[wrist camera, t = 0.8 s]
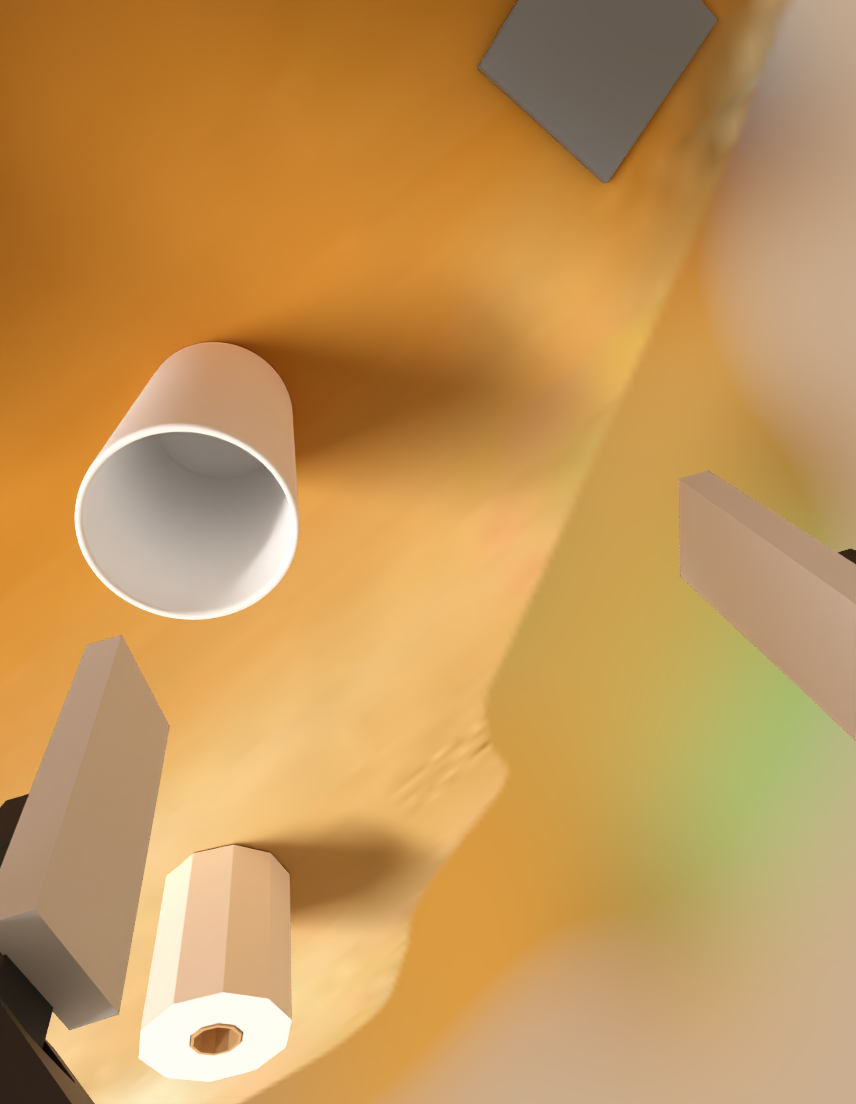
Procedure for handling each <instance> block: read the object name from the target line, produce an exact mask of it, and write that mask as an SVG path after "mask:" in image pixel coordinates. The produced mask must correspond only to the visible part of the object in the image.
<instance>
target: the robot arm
mask: <svg viewBox="0 0 856 1104" xmlns="http://www.w3.org/2000/svg"><path fill="white" fill-rule="evenodd" d="M679 523H680V524H679V527H680V576H681V577H682V578H683V579H684V580H685V581H686V582H687V583H688V584H689V585H690V586H691V587H692V588H693V589H694V590H695V591H697V592H698V593H699V594H700V595H701V596H702V597H703V598H704V599H705V600H706V601H707V602H708V603H709V604H710V605H712V606H713V607H714V608H715V609H716V610H717V611H718V612H719V613H720V614H721V615H722V616H723V617H724V618H725V619H726V620H727V621H729V622H730V623H731V624H732V625H733V626H734V627H735V628H736V629H737V630H738V631H739V632H740V633H741V634H742V635H743V636H744V637H746V638H747V639H748V640H749V641H750V642H751V643H752V644H753V645H754V646H755V647H756V648H757V649H758V650H760V652H762V653H763V654H764V655H765V656H766V657H767V658H768V659H769V660H770V661H771V662H772V663H774V665H775V666H776V667H778V668H779V669H780V670H781V671H782V672H783V673H784V674H785V675H786V676H787V677H788V678H789V679H790V680H791V681H792V682H794V683H795V684H796V685H797V686H798V687H799V688H800V689H801V690H802V691H803V692H804V693H805V694H806V695H807V696H808V697H810V698H811V699H812V700H813V701H814V702H815V703H816V704H817V705H818V706H819V707H820V708H821V709H822V710H823V711H825V712H826V713H827V714H828V715H829V716H830V717H831V718H832V719H833V720H834V721H835V722H836V723H837V724H838V725H839V726H840V727H842V728H843V729H844V730H845V731H846V732H847V733H848V734H849V735H850V736H851V737H852V738H853V739H854V740H855V741H856V550H853V549H848V550H845V551H841V552H838V553H837V552H835V551H834V550H832V549H831V548H829V547H828V546H826V545H825V544H823V543H821V542H820V541H818V540H817V539H815V538H813V537H812V536H810V535H809V534H807V533H806V532H804V531H803V530H801V529H800V528H798V527H796V526H795V525H793V524H792V523H790V522H789V521H787V520H785V519H784V518H782V517H781V516H779V515H778V514H776V513H774V512H773V511H771V510H770V509H768V508H767V507H765V506H764V505H762V504H760V503H759V502H757V501H756V500H754V499H753V498H751V497H750V496H748V495H746V494H744V493H743V492H741V491H740V490H738V489H737V488H735V487H734V486H732V485H731V484H729V483H727V482H726V481H725V480H723V479H721V478H720V477H718V476H717V475H715V474H713V473H712V472H710V471H705V472H702V473H698V474H694V475H691V476H687V477H684V478H680V479H679ZM169 727H170V726H169V724H168V722H167V720H166V718H165V716H164V714H163V713H162V711H161V709H160V707H159V705H158V703H157V701H156V699H155V697H154V695H153V694H152V692H151V690H150V688H149V686H148V684H147V682H146V680H145V678H144V676H143V674H142V673H141V671H140V669H139V667H138V665H137V663H136V661H135V659H134V657H133V655H132V653H131V652H130V650H129V648H128V646H127V644H126V642H125V640H124V638H123V636H122V635H120V636H117V637H113V638H110V639H106V640H102V641H99V642H95V643H92V644H88V645H87V646H86V648H85V651H84V654H83V656H82V659H81V661H80V664H79V666H78V669H77V672H76V674H75V677H74V679H73V682H72V684H71V687H70V690H69V692H68V695H67V697H66V700H65V703H64V705H63V708H62V710H61V713H60V715H59V718H58V721H57V723H56V726H55V728H54V731H53V734H52V736H51V739H50V741H49V744H48V746H47V749H46V752H45V754H44V757H43V759H42V762H41V764H40V767H39V770H38V772H37V775H36V777H35V780H34V783H33V785H32V788H31V790H30V793H29V794H27V795H24V796H20V797H17V798H14V799H10V800H7V801H5V803H4V804H3V805H2V806H1V808H0V1104H94V1102H93V1101H92V1100H91V1098H90V1097H89V1095H88V1094H87V1093H86V1091H85V1090H84V1089H83V1087H82V1086H81V1085H80V1083H79V1082H78V1081H77V1079H76V1078H75V1076H74V1075H73V1074H72V1072H71V1071H70V1070H69V1068H68V1067H67V1066H66V1064H65V1063H64V1061H63V1060H62V1059H61V1057H60V1056H59V1055H58V1053H57V1052H56V1051H55V1049H54V1048H53V1047H52V1046H51V1045H50V1044H49V1043H48V1042H47V1040H46V1039H45V1038H46V1034H47V1030H48V1026H49V1022H50V1018H51V1014H52V1011H53V1012H54V1013H55V1014H56V1016H57V1017H58V1018H59V1019H60V1020H61V1021H62V1022H63V1023H64V1025H65V1026H66V1027H67V1028H68V1029H69V1030H72V1029H75V1028H78V1027H81V1026H84V1025H87V1024H90V1023H93V1022H96V1021H99V1020H102V1019H106V1018H109V1017H112V1016H115V1015H118V1014H119V1011H120V1005H121V1000H122V994H123V988H124V983H125V977H126V971H127V965H128V960H129V954H130V948H131V943H132V937H133V931H134V926H135V920H136V914H137V909H138V903H139V897H140V892H141V886H142V880H143V874H144V869H145V863H146V857H147V852H148V846H149V840H150V835H151V829H152V823H153V818H154V812H155V806H156V801H157V795H158V789H159V783H160V778H161V772H162V766H163V761H164V755H165V749H166V744H167V738H168V732H169Z"/></svg>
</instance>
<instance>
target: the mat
mask: <svg viewBox="0 0 856 1104" xmlns="http://www.w3.org/2000/svg"><path fill="white" fill-rule="evenodd" d="M717 21H718V19H717V18H716V17H715V15H714V14H713V13H712V12H711V11H710V10H709V9H708V7H707V6H706V5H705V4H704V3H703V2H702V0H517V2H516V3H515V5H514V7H513V8H512V10H511V12H510V13H509V15H508V17H507V19H506V20H505V22H504V24H503V25H502V27H501V29H500V30H499V32H498V34H497V35H496V37H495V39H494V41H493V42H492V44H491V46H490V47H489V49H488V51H487V52H486V54H485V56H484V57H483V59H482V61H481V62H480V64H479V66H478V69H479V70H480V71H481V72H482V73H483V74H484V75H486V76H487V77H488V78H489V79H490V80H491V81H492V82H493V83H494V84H495V85H496V86H498V87H499V88H500V89H501V90H502V91H503V92H504V93H505V94H506V95H507V96H508V97H510V98H511V99H512V100H513V101H514V102H515V103H516V104H517V105H518V106H519V107H521V108H522V109H523V110H524V111H525V112H526V113H527V114H528V115H529V116H530V117H531V118H533V119H534V120H535V121H536V122H537V123H538V124H539V125H540V126H541V127H542V128H544V129H545V130H546V131H547V132H548V133H549V134H550V135H551V136H552V137H553V138H554V139H556V140H557V141H558V142H559V143H560V144H561V145H562V146H563V147H564V148H565V149H566V150H568V151H569V152H570V153H571V154H572V155H573V156H574V157H575V158H576V159H577V160H579V161H580V162H581V163H582V164H583V165H584V166H585V167H586V168H587V169H588V170H589V171H591V172H592V173H593V174H594V175H595V176H596V177H597V178H598V179H599V180H600V181H602V182H603V183H608V181H609V180H610V178H611V177H612V175H613V174H614V172H615V171H616V169H617V168H618V166H619V165H620V163H621V162H622V160H623V159H624V158H625V156H626V155H627V153H628V152H629V150H630V149H631V147H632V146H633V144H634V143H635V141H636V140H637V138H638V137H639V135H640V134H641V132H642V131H643V130H644V128H645V127H646V125H647V124H648V122H649V121H650V119H651V118H652V116H653V115H654V113H655V112H656V110H657V109H658V107H659V106H660V104H661V103H662V102H663V100H664V99H665V97H666V96H667V94H668V93H669V91H670V90H671V88H672V87H673V85H674V84H675V82H676V81H677V79H678V78H679V76H680V75H681V74H682V72H683V71H684V69H685V68H686V66H687V65H688V63H689V62H690V60H691V59H692V57H693V56H694V54H695V53H696V51H697V50H698V49H699V47H700V46H701V44H702V43H703V41H704V40H705V38H706V37H707V35H708V34H709V32H710V31H711V29H712V28H713V26H714V25H715V23H716V22H717Z"/></svg>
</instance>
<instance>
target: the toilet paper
mask: <svg viewBox="0 0 856 1104" xmlns="http://www.w3.org/2000/svg"><path fill="white" fill-rule="evenodd" d="M291 1021H292V1004H291V927H290V874H289V873H288V872H287V871H286V870H285V869H284V867H283V866H282V865H281V864H280V863H279V862H278V861H277V860H276V858H275V857H274V856H273V855H272V854H271V853H268V852H264V851H260V850H255V849H251V848H247V847H242V846H238V845H229V846H225V847H220V848H216V849H211V850H206V851H202V852H197V853H193V854H192V855H191V856H190V857H188V858H187V859H186V860H185V861H184V862H182V863H181V864H180V865H179V866H178V867H177V868H175V869H174V870H173V871H172V872H171V873H170V874H168V875H167V876H166V882H165V888H164V894H163V900H162V906H161V912H160V918H159V924H158V930H157V936H156V942H155V947H154V953H153V959H152V965H151V971H150V977H149V983H148V989H147V995H146V1001H145V1007H144V1013H143V1019H142V1025H141V1032H140V1047H139V1059H140V1060H142V1061H143V1062H145V1063H146V1064H147V1065H149V1066H150V1067H152V1068H153V1069H154V1070H156V1071H157V1072H159V1073H160V1074H161V1075H163V1076H164V1077H166V1078H174V1079H185V1080H196V1081H207V1082H211V1081H215V1080H219V1079H223V1078H227V1077H231V1076H235V1075H238V1074H242V1073H246V1072H250V1071H254V1070H256V1069H257V1068H259V1067H260V1066H261V1065H263V1064H264V1063H265V1062H267V1061H268V1060H269V1059H271V1058H272V1057H273V1056H275V1055H276V1054H277V1053H279V1052H280V1051H281V1050H283V1049H284V1048H285V1047H286V1044H287V1040H288V1035H289V1030H290V1026H291Z"/></svg>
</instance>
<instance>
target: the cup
mask: <svg viewBox="0 0 856 1104" xmlns="http://www.w3.org/2000/svg"><path fill="white" fill-rule="evenodd" d="M75 528H76V534H77V538H78V542H79V545H80V548H81V550H82V552H83V555H84V557H85V559H86V560H87V562H88V564H89V566H90V567H91V568H92V570H93V571H94V573H95V574H96V575H97V576H98V577H99V579H100V580H101V581H102V582H103V583H104V584H105V585H106V586H107V587H108V588H109V589H111V590H112V591H113V592H114V593H116V594H117V595H118V596H120V597H121V598H123V599H124V600H126V601H127V602H129V603H131V604H133V605H135V606H137V607H139V608H141V609H143V610H146V611H149V612H151V613H154V614H158V615H162V616H166V617H171V618H178V619H193V620H196V619H209V618H216V617H221V616H225V615H229V614H232V613H235V612H237V611H240V610H242V609H245V608H246V607H248V606H250V605H252V604H254V603H255V602H257V601H259V600H260V599H261V598H263V597H264V596H265V595H267V594H268V593H269V592H270V591H271V590H272V589H273V588H274V587H275V586H276V585H277V584H278V583H279V582H280V580H281V579H282V577H283V576H284V575H285V573H286V571H287V570H288V568H289V566H290V564H291V562H292V559H293V557H294V553H295V550H296V546H297V541H298V534H299V512H298V494H297V477H296V461H295V444H294V428H293V411H292V404H291V400H290V396H289V393H288V391H287V389H286V386H285V384H284V383H283V381H282V379H281V378H280V376H279V375H278V373H277V372H276V371H275V370H274V369H273V368H272V367H271V366H270V365H269V364H268V363H267V362H266V361H265V360H264V359H262V358H261V357H260V356H258V355H257V354H255V353H253V352H251V351H249V350H247V349H245V348H243V347H240V346H237V345H234V344H229V343H223V342H204V343H198V344H194V345H191V346H188V347H185V348H183V349H181V350H179V351H177V352H176V353H174V354H173V355H171V356H170V357H169V358H168V359H166V360H165V361H164V362H163V363H162V364H161V365H160V367H159V368H158V369H157V371H156V372H155V374H154V375H153V377H152V378H151V379H150V381H149V382H148V384H147V385H146V387H145V388H144V389H143V391H142V392H141V394H140V395H139V397H138V398H137V400H136V401H135V402H134V404H133V405H132V407H131V408H130V410H129V411H128V413H127V414H126V415H125V417H124V418H123V420H122V421H121V423H120V424H119V425H118V427H117V428H116V430H115V431H114V433H113V434H112V436H111V437H110V438H109V440H108V441H107V443H106V444H105V446H104V447H103V449H102V450H101V451H100V453H99V454H98V456H97V457H96V459H95V460H94V462H93V463H92V465H91V466H90V468H89V469H88V471H87V473H86V475H85V477H84V479H83V481H82V483H81V486H80V489H79V493H78V496H77V500H76V506H75Z"/></svg>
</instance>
